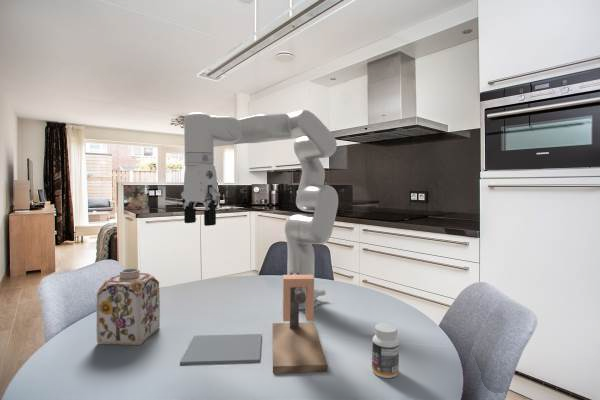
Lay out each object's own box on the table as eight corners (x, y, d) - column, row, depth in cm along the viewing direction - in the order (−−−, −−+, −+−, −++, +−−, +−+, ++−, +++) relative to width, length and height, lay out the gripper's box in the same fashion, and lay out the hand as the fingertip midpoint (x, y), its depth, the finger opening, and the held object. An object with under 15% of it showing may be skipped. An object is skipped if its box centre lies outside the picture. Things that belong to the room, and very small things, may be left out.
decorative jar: (121, 326, 97) (121, 264, 97) (160, 327, 97) (160, 265, 96) (94, 345, 85) (94, 275, 85) (139, 346, 85) (139, 275, 84)
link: (311, 314, 83) (312, 274, 83) (313, 320, 79) (314, 278, 79) (282, 315, 83) (283, 274, 83) (283, 321, 79) (283, 279, 79)
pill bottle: (368, 365, 76) (369, 322, 76) (393, 365, 77) (393, 322, 77) (376, 379, 71) (377, 333, 70) (402, 378, 71) (403, 332, 71)
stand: (313, 327, 98) (314, 268, 97) (327, 371, 74) (328, 293, 73) (272, 328, 97) (273, 268, 96) (272, 373, 73) (273, 294, 72)
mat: (261, 336, 92) (261, 333, 92) (259, 362, 78) (259, 359, 78) (194, 337, 90) (194, 335, 90) (179, 364, 76) (179, 362, 76)
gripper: (230, 159, 87) (230, 225, 88) (194, 163, 99) (194, 221, 99) (205, 157, 82) (205, 227, 82) (170, 161, 93) (170, 222, 94)
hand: (199, 224), depth 91 cm, fingers open, 9 cm apart
